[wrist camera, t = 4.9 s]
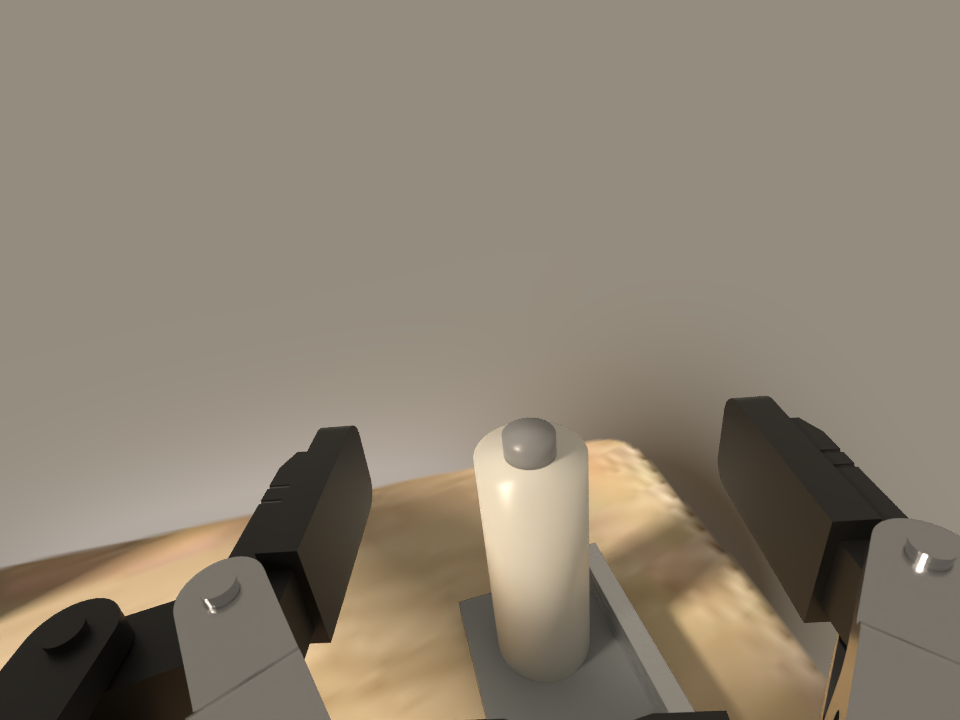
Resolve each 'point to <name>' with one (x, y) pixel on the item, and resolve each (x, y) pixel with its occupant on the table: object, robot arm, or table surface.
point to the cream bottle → (537, 544)
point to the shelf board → (559, 704)
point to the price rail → (635, 639)
